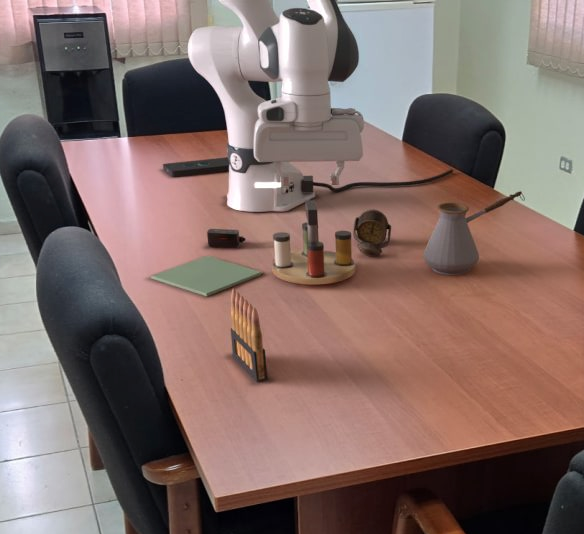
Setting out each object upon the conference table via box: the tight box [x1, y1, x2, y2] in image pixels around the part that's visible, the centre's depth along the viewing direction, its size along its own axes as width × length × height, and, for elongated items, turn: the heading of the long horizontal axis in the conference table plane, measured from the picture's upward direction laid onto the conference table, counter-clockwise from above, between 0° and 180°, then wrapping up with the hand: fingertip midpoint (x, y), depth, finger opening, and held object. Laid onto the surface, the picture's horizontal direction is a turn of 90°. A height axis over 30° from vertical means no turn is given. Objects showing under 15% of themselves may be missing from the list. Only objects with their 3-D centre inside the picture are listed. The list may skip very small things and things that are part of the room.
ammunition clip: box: [230, 288, 269, 383], centre depth 150 cm, size 11×2×12 cm, turn 32°
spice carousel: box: [271, 199, 356, 285], centre depth 186 cm, size 16×16×13 cm
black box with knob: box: [206, 228, 246, 249], centre depth 201 cm, size 5×7×3 cm, turn 90°
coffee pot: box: [422, 190, 526, 276], centre depth 193 cm, size 21×12×15 cm, turn 112°
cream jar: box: [272, 231, 292, 267], centre depth 186 cm, size 3×3×6 cm
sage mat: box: [150, 255, 263, 297], centre depth 186 cm, size 15×15×1 cm
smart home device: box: [162, 156, 230, 178], centre depth 252 cm, size 8×2×20 cm
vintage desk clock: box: [352, 209, 392, 257], centre depth 203 cm, size 7×13×10 cm
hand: (310, 184), depth 180 cm, fingers open, 8 cm apart
